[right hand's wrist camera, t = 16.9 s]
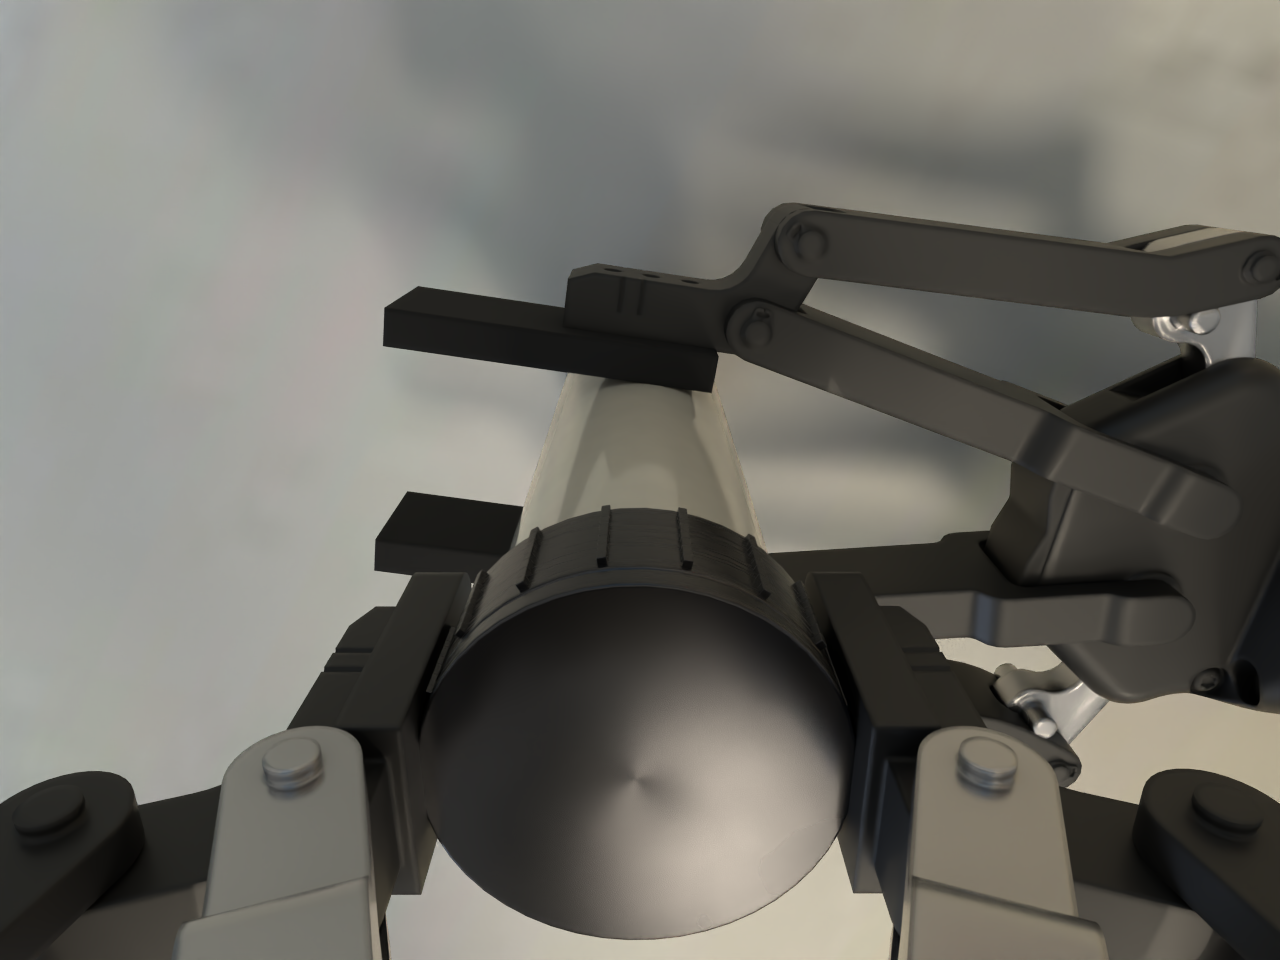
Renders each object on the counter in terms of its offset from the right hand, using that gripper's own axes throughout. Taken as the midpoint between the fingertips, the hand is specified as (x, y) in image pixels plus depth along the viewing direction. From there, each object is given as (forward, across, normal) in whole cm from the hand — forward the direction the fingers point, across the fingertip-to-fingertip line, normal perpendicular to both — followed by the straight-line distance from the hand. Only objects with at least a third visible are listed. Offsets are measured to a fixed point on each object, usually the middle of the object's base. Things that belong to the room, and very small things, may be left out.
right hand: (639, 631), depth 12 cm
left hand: (+7, -5, +1) cm, 9 cm away
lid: (-3, 0, 0) cm, 3 cm away
